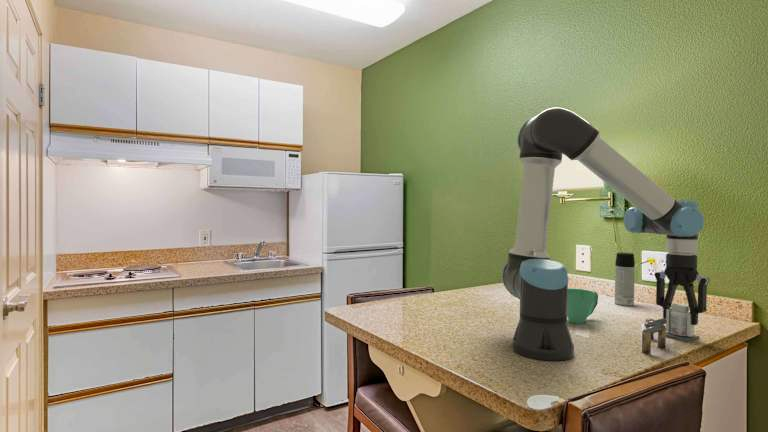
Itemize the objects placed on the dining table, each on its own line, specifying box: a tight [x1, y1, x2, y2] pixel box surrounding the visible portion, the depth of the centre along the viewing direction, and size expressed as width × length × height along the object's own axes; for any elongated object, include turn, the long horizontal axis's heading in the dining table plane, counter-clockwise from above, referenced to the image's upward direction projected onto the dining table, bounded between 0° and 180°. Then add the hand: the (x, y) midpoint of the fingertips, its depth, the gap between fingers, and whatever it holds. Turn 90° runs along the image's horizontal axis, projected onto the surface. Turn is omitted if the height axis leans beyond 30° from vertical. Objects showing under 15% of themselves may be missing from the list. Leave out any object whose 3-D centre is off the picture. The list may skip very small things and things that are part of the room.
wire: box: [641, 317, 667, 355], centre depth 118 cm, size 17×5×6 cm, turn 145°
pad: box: [666, 331, 700, 343], centre depth 126 cm, size 7×7×1 cm
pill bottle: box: [670, 303, 690, 336], centre depth 126 cm, size 5×5×8 cm
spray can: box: [614, 252, 636, 307], centre depth 169 cm, size 7×7×20 cm
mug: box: [567, 288, 599, 324], centre depth 144 cm, size 15×10×10 cm
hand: (679, 332), depth 126 cm, fingers closed on pill bottle, 5 cm apart
